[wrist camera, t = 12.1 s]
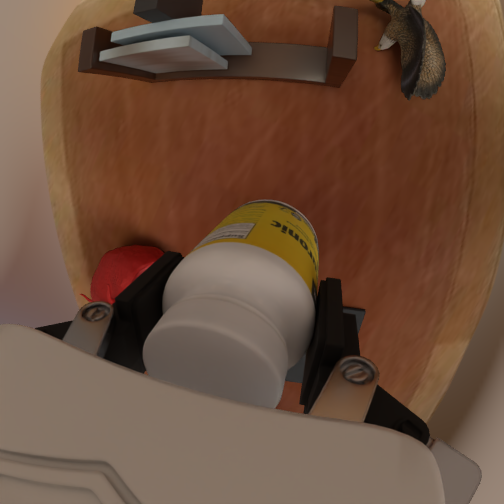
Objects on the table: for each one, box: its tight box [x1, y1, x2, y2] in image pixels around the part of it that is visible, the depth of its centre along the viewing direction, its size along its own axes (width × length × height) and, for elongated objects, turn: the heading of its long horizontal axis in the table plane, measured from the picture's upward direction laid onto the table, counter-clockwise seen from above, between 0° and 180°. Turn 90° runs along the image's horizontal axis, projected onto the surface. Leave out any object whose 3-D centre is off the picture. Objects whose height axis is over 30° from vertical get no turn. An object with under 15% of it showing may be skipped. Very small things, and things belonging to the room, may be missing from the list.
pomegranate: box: [80, 245, 165, 305], centre depth 26 cm, size 10×10×9 cm
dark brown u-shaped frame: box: [78, 6, 358, 87], centre depth 16 cm, size 16×3×10 cm, turn 86°
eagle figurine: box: [370, 0, 446, 100], centre depth 14 cm, size 8×7×9 cm
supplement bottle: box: [143, 200, 319, 409], centre depth 12 cm, size 5×5×10 cm
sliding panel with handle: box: [111, 0, 252, 55], centre depth 14 cm, size 7×4×10 cm, turn 86°
